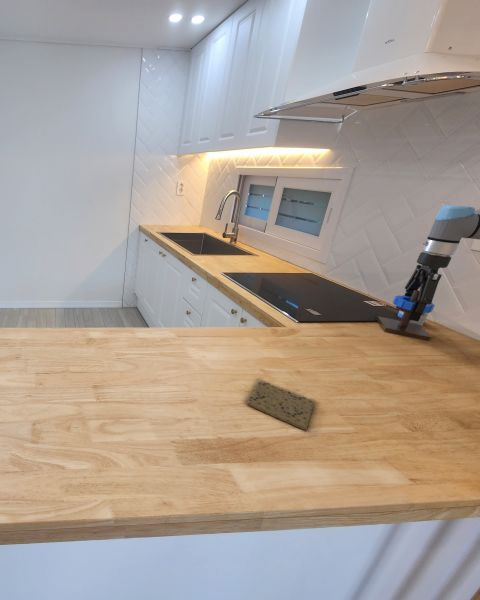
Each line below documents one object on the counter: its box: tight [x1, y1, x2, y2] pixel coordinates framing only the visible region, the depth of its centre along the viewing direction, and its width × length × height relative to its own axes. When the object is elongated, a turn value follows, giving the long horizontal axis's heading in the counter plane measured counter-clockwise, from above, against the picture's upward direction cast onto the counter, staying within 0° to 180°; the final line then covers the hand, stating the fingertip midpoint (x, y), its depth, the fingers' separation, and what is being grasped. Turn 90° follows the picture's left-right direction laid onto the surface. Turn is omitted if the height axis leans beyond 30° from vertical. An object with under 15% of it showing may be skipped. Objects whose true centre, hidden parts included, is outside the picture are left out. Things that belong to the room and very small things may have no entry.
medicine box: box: [397, 310, 429, 327], centre depth 128 cm, size 8×4×9 cm, turn 164°
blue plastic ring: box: [392, 295, 436, 314], centre depth 118 cm, size 10×10×2 cm
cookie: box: [246, 380, 315, 431], centre depth 77 cm, size 12×12×1 cm
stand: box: [375, 289, 431, 342], centre depth 119 cm, size 12×12×15 cm
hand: (407, 314), depth 119 cm, fingers closed on blue plastic ring, 10 cm apart
